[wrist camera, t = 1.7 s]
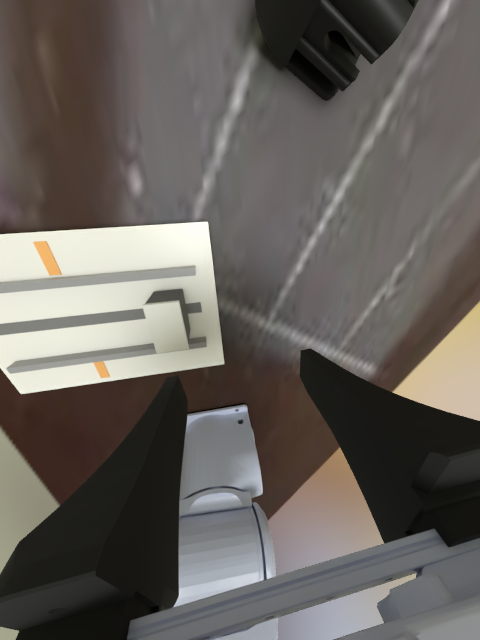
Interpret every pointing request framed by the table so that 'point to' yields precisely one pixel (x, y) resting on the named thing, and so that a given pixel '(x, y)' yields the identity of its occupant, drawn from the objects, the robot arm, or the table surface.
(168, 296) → the fader tab
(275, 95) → the table surface
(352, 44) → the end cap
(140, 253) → the console
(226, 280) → the table surface
